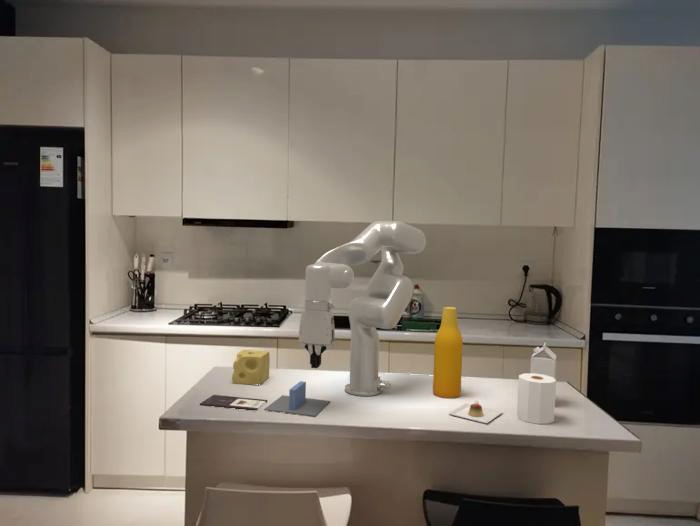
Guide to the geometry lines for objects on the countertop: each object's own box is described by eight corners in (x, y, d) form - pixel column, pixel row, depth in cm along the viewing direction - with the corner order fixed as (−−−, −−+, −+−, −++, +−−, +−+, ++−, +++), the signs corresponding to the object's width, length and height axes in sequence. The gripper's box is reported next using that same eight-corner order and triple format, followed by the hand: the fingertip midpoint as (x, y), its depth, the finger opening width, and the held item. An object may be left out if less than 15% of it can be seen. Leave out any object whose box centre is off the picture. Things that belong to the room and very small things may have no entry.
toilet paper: (550, 413, 161) (552, 374, 160) (556, 426, 151) (558, 384, 150) (515, 410, 163) (517, 371, 162) (518, 422, 153) (520, 380, 152)
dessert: (487, 426, 150) (487, 410, 150) (448, 417, 157) (448, 401, 157) (502, 415, 160) (503, 399, 159) (465, 406, 167) (466, 391, 166)
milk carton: (554, 401, 173) (557, 343, 172) (552, 407, 167) (555, 347, 165) (531, 397, 176) (533, 340, 175) (528, 403, 170) (531, 344, 168)
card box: (294, 410, 157) (295, 390, 156) (288, 409, 157) (289, 389, 157) (305, 400, 165) (305, 381, 165) (299, 400, 166) (300, 381, 165)
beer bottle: (452, 389, 183) (455, 305, 181) (466, 397, 174) (469, 309, 173) (427, 391, 180) (430, 306, 178) (440, 399, 171) (444, 310, 170)
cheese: (231, 383, 183) (232, 355, 182) (243, 375, 193) (243, 348, 193) (260, 386, 181) (261, 357, 181) (270, 377, 192) (271, 350, 191)
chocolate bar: (213, 394, 169) (267, 399, 165) (213, 397, 169) (267, 403, 165) (199, 403, 160) (256, 409, 156) (199, 406, 160) (255, 412, 156)
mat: (330, 402, 166) (330, 400, 166) (315, 416, 153) (315, 415, 153) (282, 396, 170) (282, 395, 170) (263, 410, 157) (263, 409, 157)
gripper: (345, 306, 160) (343, 366, 161) (298, 303, 164) (296, 362, 165) (337, 309, 152) (335, 372, 153) (289, 305, 156) (287, 367, 157)
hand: (315, 367), depth 159 cm, fingers closed
